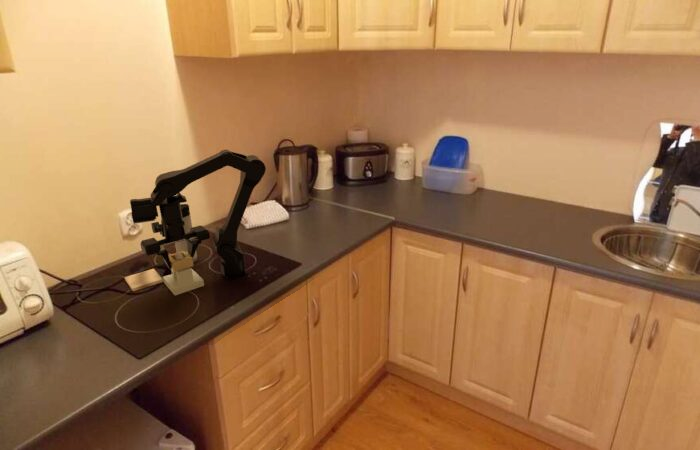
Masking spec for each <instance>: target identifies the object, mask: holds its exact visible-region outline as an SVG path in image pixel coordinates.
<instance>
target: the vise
mask: <svg viewBox="0 0 700 450" xmlns="http://www.w3.org/2000/svg"><path fill="white" fill-rule="evenodd" d="M175 257H176V260H178V259H181V258H183V256H182V254H176V255H175ZM170 271H171V274H168V275H164V276H162V279H163V283H164V285H165V286H166V287H167V288H168V289H169V291H171V293H172V294H173V295H174V296H178V295H181V294H184V293H186V292H191V291H193V290H195V289H198V288H201V287H204V286H205V282H204V279H203V278H202V277H201V276H200V275H199V274H198V273H197V272H196V271H195V270H193V269H192V267H189V268H185V269H182V270H179V271H176V272H173V271H172V269H170Z"/></svg>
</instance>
